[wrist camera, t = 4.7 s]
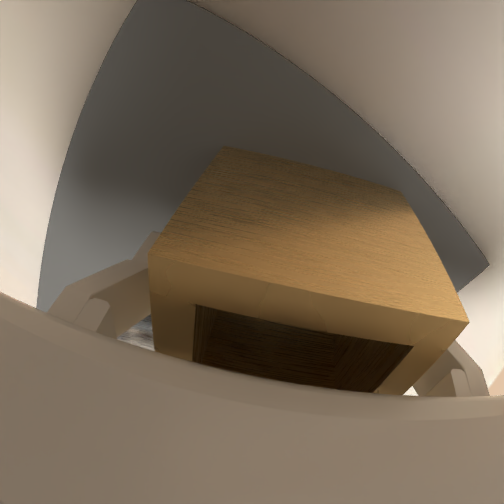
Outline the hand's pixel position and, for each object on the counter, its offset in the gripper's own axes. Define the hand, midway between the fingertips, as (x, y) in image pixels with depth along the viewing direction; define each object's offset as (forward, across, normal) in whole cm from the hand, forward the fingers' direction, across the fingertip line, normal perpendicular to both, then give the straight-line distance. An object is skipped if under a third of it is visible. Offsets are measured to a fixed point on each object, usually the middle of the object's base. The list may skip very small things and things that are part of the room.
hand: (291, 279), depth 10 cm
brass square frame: (+2, 0, 0) cm, 2 cm away
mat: (+2, +5, +8) cm, 9 cm away
